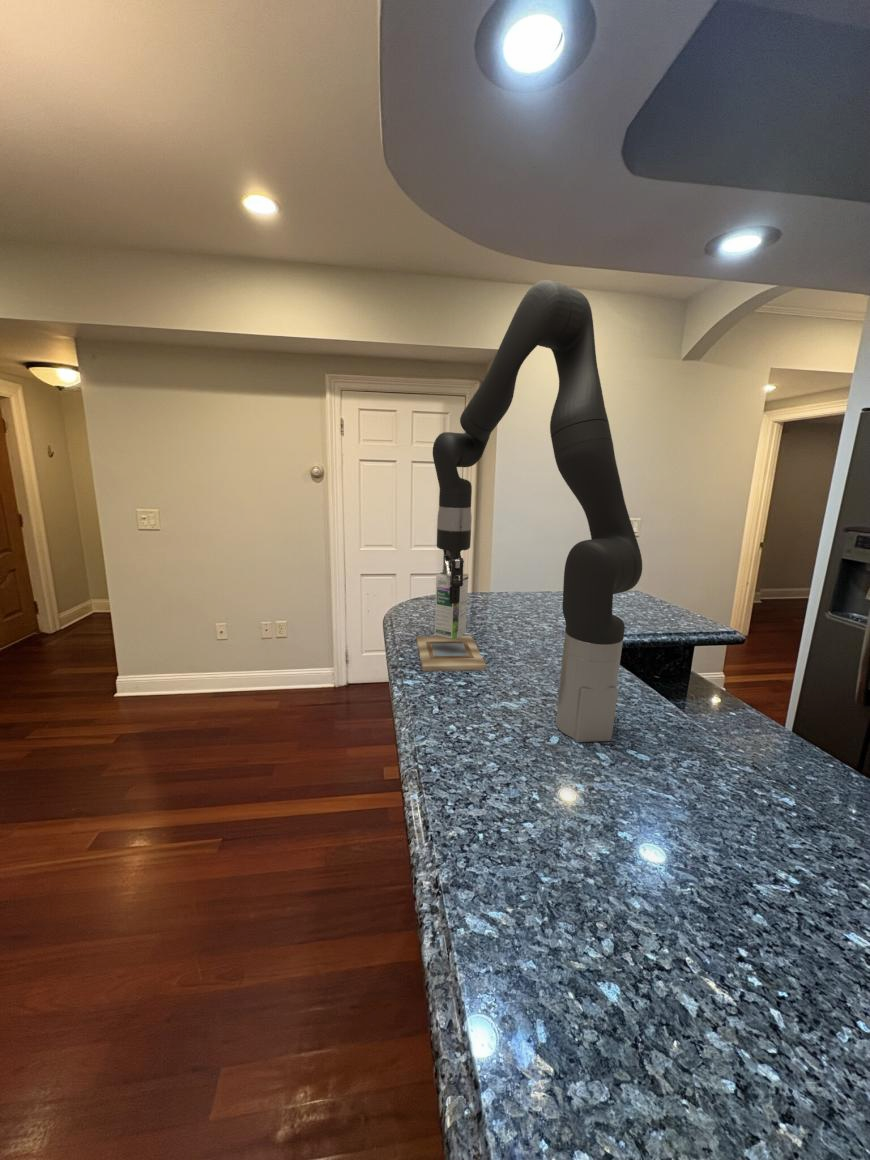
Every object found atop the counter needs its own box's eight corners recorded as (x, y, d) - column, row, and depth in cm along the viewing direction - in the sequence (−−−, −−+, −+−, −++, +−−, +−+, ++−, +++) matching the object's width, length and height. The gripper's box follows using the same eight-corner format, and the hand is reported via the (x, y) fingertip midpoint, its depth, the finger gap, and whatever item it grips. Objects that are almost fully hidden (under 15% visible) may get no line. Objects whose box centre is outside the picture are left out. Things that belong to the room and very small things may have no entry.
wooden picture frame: (486, 670, 105) (486, 664, 105) (422, 671, 104) (422, 665, 103) (470, 640, 123) (471, 635, 122) (416, 640, 121) (416, 635, 121)
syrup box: (433, 635, 111) (435, 574, 107) (445, 628, 116) (447, 569, 112) (455, 640, 108) (458, 577, 105) (466, 632, 113) (469, 572, 110)
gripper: (477, 532, 99) (473, 607, 103) (465, 523, 113) (462, 589, 117) (441, 531, 99) (438, 607, 103) (433, 522, 112) (431, 589, 116)
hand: (451, 597), depth 110 cm, fingers closed on syrup box, 8 cm apart
